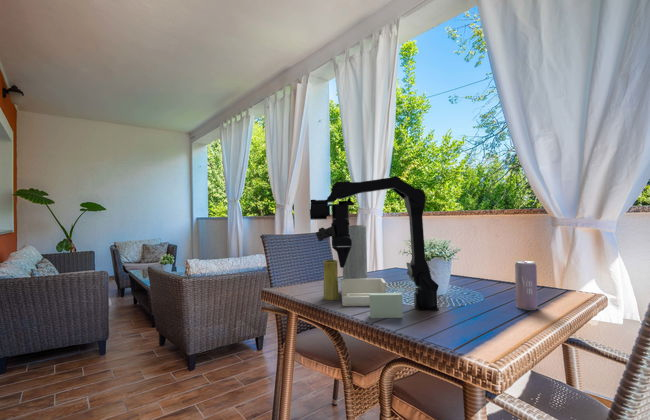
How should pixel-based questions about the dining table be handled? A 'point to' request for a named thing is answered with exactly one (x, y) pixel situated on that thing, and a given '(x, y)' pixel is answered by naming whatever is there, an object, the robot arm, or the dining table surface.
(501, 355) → the dining table surface
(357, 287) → the cabinet
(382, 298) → the door
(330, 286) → the vase
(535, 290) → the beverage can
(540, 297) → the dining table surface
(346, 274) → the planter
